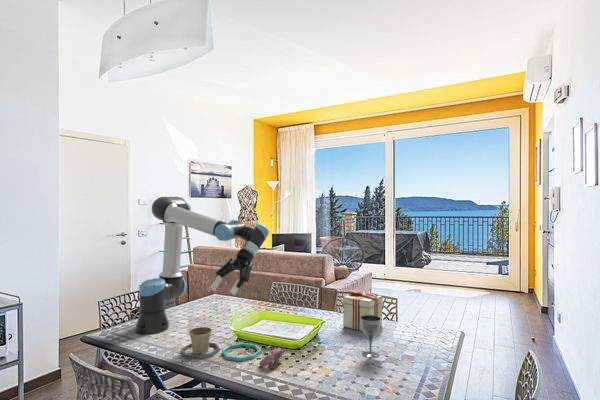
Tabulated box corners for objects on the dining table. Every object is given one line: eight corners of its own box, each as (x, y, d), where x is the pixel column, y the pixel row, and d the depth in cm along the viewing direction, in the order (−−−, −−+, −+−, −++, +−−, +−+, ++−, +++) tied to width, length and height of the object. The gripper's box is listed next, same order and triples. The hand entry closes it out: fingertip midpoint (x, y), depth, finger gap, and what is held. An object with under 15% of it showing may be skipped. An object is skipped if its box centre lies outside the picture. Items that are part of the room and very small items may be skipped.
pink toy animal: (266, 373, 138) (273, 358, 136) (257, 365, 140) (264, 350, 139) (281, 363, 146) (287, 349, 145) (272, 356, 149) (279, 342, 147)
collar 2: (219, 349, 156) (219, 346, 156) (253, 343, 162) (253, 341, 162) (228, 363, 143) (228, 360, 143) (264, 356, 149) (264, 353, 149)
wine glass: (368, 360, 146) (368, 322, 146) (356, 352, 153) (356, 316, 153) (384, 356, 150) (384, 319, 150) (372, 349, 157) (372, 313, 157)
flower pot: (205, 357, 149) (205, 335, 149) (184, 355, 151) (184, 333, 151) (215, 348, 158) (215, 327, 158) (195, 346, 160) (195, 326, 160)
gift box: (385, 323, 190) (385, 289, 190) (371, 334, 175) (371, 297, 175) (354, 317, 199) (354, 285, 199) (339, 327, 184) (339, 292, 184)
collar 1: (179, 348, 158) (179, 345, 158) (214, 342, 164) (214, 339, 164) (184, 361, 144) (184, 358, 144) (222, 354, 151) (222, 351, 151)
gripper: (270, 260, 168) (246, 300, 156) (234, 255, 184) (209, 291, 172) (261, 249, 164) (236, 290, 152) (225, 246, 180) (199, 282, 168)
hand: (222, 291), depth 162 cm, fingers open, 13 cm apart
